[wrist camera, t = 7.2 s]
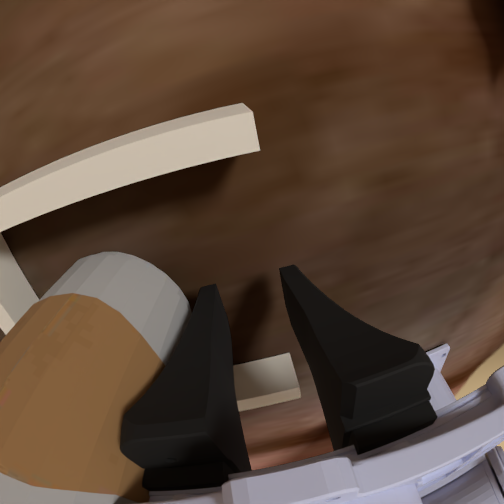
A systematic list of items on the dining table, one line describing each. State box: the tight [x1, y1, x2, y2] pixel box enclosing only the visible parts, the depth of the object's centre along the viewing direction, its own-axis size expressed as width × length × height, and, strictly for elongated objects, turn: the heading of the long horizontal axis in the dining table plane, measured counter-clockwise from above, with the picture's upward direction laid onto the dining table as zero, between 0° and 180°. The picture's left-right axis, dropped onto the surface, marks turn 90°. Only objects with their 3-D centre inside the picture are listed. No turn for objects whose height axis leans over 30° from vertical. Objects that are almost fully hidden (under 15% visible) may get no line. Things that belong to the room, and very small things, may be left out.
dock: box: [0, 103, 301, 411], centre depth 13 cm, size 15×13×2 cm
